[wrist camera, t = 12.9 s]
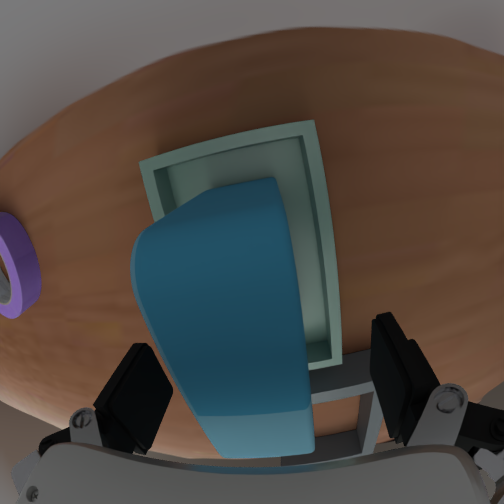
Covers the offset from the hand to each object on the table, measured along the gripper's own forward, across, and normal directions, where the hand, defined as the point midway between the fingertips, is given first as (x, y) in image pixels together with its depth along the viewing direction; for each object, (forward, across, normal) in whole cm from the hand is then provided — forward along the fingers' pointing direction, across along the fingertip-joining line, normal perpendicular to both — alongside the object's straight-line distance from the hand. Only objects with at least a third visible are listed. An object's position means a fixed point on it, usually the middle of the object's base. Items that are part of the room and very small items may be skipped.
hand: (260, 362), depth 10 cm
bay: (+11, -3, +19) cm, 22 cm away
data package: (+10, +1, 0) cm, 10 cm away
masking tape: (+10, +29, -5) cm, 31 cm away
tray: (+10, +1, 0) cm, 10 cm away
